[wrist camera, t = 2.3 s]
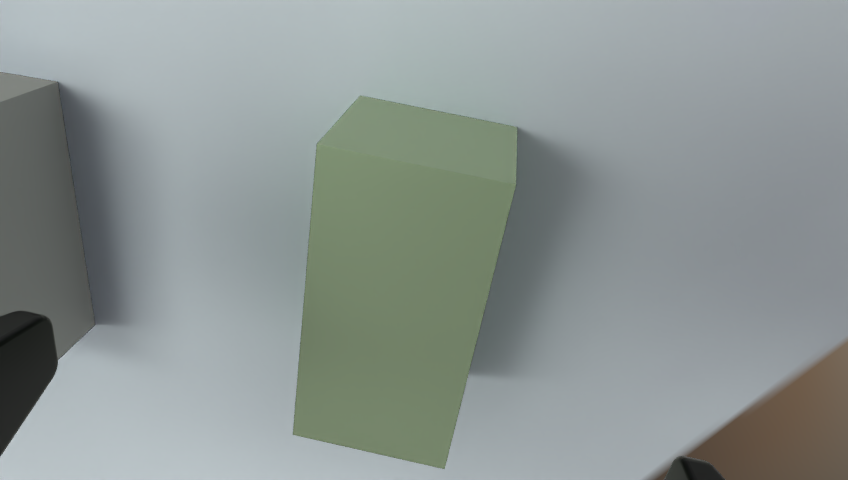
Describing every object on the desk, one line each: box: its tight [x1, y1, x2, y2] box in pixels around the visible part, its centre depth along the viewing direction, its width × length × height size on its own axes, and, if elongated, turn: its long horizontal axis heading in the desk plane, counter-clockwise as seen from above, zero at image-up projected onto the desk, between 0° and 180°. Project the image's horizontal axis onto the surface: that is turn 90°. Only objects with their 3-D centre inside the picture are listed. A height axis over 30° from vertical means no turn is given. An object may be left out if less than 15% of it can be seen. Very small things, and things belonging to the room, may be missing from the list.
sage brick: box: [293, 96, 517, 469], centre depth 12 cm, size 6×3×3 cm, turn 171°
